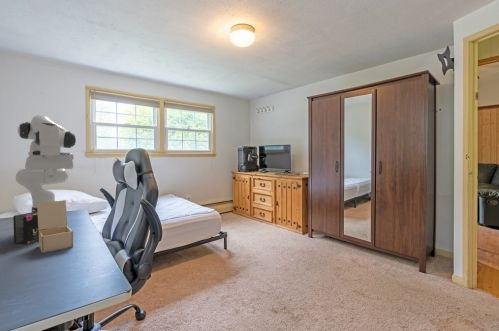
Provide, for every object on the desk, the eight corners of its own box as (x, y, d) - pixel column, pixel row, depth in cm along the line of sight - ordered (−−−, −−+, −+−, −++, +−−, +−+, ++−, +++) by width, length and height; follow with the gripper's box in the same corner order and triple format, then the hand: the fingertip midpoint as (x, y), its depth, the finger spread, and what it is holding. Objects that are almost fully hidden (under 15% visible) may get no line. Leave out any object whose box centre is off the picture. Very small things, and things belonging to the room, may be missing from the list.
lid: (38, 230, 124) (38, 230, 125) (67, 225, 133) (67, 225, 133) (37, 202, 126) (37, 203, 127) (65, 200, 135) (65, 200, 136)
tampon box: (27, 244, 127) (26, 216, 126) (13, 243, 129) (12, 215, 128) (48, 237, 138) (47, 212, 137) (35, 236, 139) (34, 211, 139)
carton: (39, 246, 124) (38, 230, 124) (67, 240, 133) (67, 226, 132) (42, 253, 114) (41, 236, 114) (73, 246, 123) (72, 231, 123)
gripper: (72, 152, 142) (72, 176, 142) (24, 152, 127) (25, 178, 127) (74, 152, 137) (74, 177, 138) (25, 151, 123) (26, 179, 123)
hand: (50, 177), depth 132 cm, fingers closed
